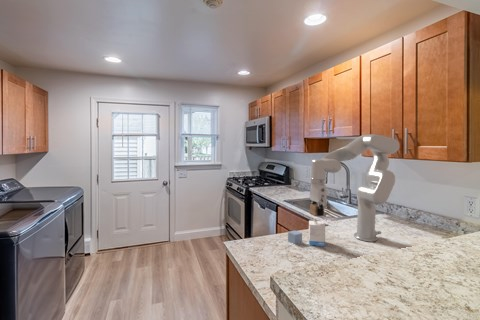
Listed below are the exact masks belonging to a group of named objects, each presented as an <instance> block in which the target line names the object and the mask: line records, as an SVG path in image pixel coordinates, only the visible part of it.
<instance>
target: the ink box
mask: <svg viewBox="0 0 480 320" xmlns="http://www.w3.org/2000/svg"><path fill="white" fill-rule="evenodd" d="M308 244H309V246H311V245H316V246H317V247H326V224H325V221H323V220H316V218H315V217H313V220H308ZM316 246H315V247H316Z"/></svg>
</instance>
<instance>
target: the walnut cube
mask: <svg viewBox="0 0 480 320" xmlns="http://www.w3.org/2000/svg"><path fill="white" fill-rule="evenodd" d="M320 205H321V204H320ZM317 209H318V203H316V204H311V203H310V204H309V214H310V215H311V216H314V217H324V216H325V207H324V208H323V215H320V216H318V215H317Z"/></svg>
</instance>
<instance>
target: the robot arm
mask: <svg viewBox="0 0 480 320" xmlns="http://www.w3.org/2000/svg"><path fill="white" fill-rule="evenodd" d="M399 149H400V143H399V141H398V140H397V139H395V138H393V137H389V136H386V135H385V136H384V135H381V134H376V133H375V134H374V133H372V134H371V133H369V134H363V135H360V136H358V137H357V138H355V139H354V140H353V141H351V142H350V143H348V144H346V145H345V146H342V147H340V148H338V149H335V150H334V151H330V153H327V154H326V155H324V156H323V157H322V158H320V159H319V158H315V159H312V160H311V170H310V171H311V173H310V176H311V177H310V190H309V200H310V204H318V209H317V215H318V216H317V217H321V216H320V215H323V208H324V209H325V207H326V205H327V200H328V199H327V186H326V185H327V184H326V173H331V174H335V173H339V172H340V171H341V170H342V162H346V161H351V160H354V159H355V158H357V157H359V156H360V155H362V154H363V153H364V152H366V151H368V150H370V151H371V153H372V162H371V165H370V167H369V169H368V172H367V174H366V176H365V177H366V178H365V179H366V182H367V183H368V184H362V185H360V186H358V188H357V189H356V199H357V219H356V232H355V233H354V234H353V237H354V238H355V239H357V240H360V241H363V242H373V243H374V242H377V241H378V239H379V238H378V236H377V235H382V231H381V230H376V213H377V210H376V209H377V207H376V205H377V206H382V205H384V204H385V203H386V202H387V201H388V199H389V198H390V194H391V192H392V190H393V188H394V186H395V183H396V175H395V174H394V172H393V171H392V170H388V168H389V165H390V160H389V157H388V154H390V155H391V154H395V153H397V152H398V151H399ZM369 184H370V185H369ZM374 185H375V186H374ZM320 204H321V205H320Z"/></svg>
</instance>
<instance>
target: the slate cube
mask: <svg viewBox="0 0 480 320" xmlns="http://www.w3.org/2000/svg"><path fill="white" fill-rule="evenodd" d="M287 242H289V243H291V244H292V243H293V244H292V245H294V244H295V245H298V244H297V243H299V244H301V242H302V243H303V233H302V232H300V231H297V230H295V229H294V230H291V231H288V232H287Z"/></svg>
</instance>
